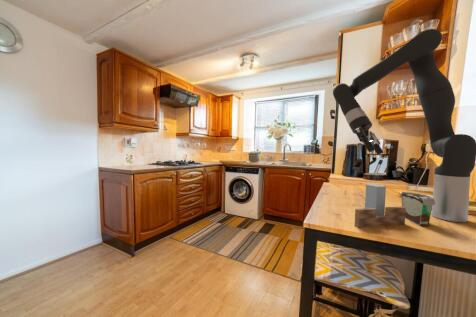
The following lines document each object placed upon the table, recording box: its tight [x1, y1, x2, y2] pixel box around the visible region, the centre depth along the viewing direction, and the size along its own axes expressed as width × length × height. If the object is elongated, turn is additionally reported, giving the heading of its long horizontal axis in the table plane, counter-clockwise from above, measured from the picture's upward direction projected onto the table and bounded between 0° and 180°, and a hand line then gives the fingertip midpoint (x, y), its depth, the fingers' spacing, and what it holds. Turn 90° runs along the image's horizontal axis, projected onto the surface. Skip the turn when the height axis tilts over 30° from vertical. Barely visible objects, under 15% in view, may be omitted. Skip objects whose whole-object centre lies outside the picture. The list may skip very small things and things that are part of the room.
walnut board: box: [354, 205, 406, 228], centre depth 65 cm, size 20×1×6 cm, turn 101°
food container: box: [400, 191, 435, 227], centre depth 68 cm, size 12×6×10 cm, turn 168°
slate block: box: [364, 183, 387, 216], centre depth 72 cm, size 4×5×13 cm
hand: (376, 152), depth 74 cm, fingers open, 8 cm apart
